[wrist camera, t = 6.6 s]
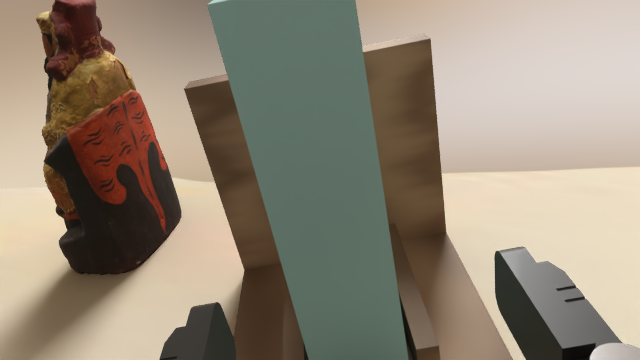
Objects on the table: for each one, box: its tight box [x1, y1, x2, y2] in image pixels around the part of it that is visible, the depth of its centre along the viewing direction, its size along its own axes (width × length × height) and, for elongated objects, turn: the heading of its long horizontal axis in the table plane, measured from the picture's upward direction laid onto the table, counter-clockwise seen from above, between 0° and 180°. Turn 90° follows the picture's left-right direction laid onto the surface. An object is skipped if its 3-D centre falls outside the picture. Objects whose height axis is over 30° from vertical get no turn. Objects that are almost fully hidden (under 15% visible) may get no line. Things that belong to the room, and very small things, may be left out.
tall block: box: [207, 0, 408, 360], centre depth 22 cm, size 4×12×18 cm, turn 3°
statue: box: [36, 0, 181, 294], centre depth 36 cm, size 12×8×20 cm, turn 164°
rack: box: [184, 34, 513, 360], centre depth 21 cm, size 14×22×14 cm, turn 3°
